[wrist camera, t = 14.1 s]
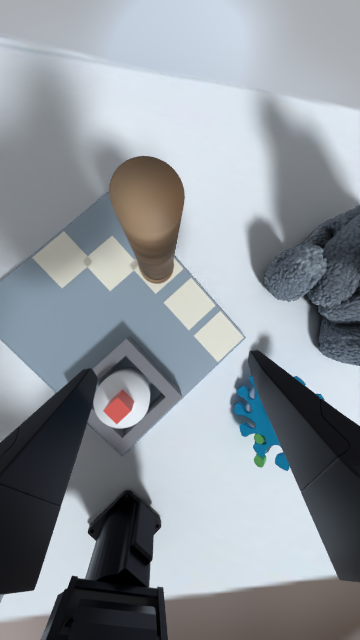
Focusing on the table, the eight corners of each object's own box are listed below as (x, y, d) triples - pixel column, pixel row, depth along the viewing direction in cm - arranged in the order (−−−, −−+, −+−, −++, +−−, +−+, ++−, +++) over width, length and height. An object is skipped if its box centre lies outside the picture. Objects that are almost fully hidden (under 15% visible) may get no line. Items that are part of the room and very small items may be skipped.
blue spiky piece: (255, 354, 21) (363, 414, 15) (265, 355, 26) (352, 402, 20) (215, 428, 23) (300, 512, 16) (232, 417, 27) (303, 479, 21)
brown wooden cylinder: (149, 289, 21) (130, 249, 8) (133, 259, 20) (89, 172, 8) (179, 274, 21) (202, 214, 9) (163, 244, 21) (164, 138, 8)
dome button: (125, 423, 20) (115, 453, 16) (91, 390, 20) (72, 411, 16) (160, 390, 21) (160, 410, 16) (128, 357, 20) (118, 368, 16)
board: (123, 451, 22) (117, 471, 19) (-24, 308, 20) (-55, 307, 17) (243, 336, 23) (254, 339, 20) (116, 192, 21) (108, 172, 18)
